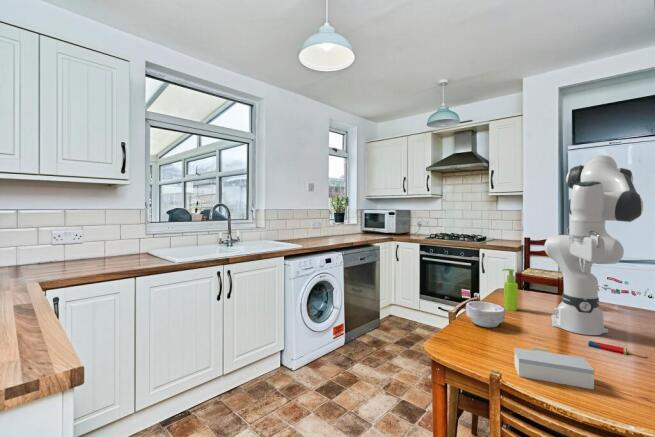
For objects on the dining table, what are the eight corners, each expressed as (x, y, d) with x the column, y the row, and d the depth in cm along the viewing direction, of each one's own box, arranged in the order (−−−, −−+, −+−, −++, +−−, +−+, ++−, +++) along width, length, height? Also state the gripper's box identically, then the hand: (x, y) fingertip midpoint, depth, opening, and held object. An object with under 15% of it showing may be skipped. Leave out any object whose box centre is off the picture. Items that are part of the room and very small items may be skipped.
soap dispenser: (502, 306, 164) (502, 267, 163) (517, 308, 159) (518, 269, 159) (500, 308, 159) (501, 269, 158) (516, 311, 155) (517, 270, 154)
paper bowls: (513, 328, 133) (513, 309, 133) (484, 332, 129) (484, 312, 128) (485, 316, 148) (485, 299, 148) (458, 319, 143) (458, 302, 143)
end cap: (514, 364, 102) (514, 347, 102) (583, 375, 95) (583, 357, 95) (518, 376, 94) (519, 358, 94) (593, 389, 87) (594, 370, 87)
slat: (532, 355, 109) (533, 346, 109) (546, 357, 107) (546, 348, 107) (545, 378, 94) (545, 368, 94) (561, 381, 92) (561, 371, 92)
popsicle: (646, 356, 105) (588, 343, 115) (646, 361, 105) (588, 347, 115) (645, 352, 108) (588, 340, 118) (645, 356, 108) (588, 344, 118)
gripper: (612, 233, 93) (611, 279, 94) (586, 229, 112) (586, 267, 113) (586, 232, 96) (585, 277, 96) (565, 228, 115) (564, 266, 115)
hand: (585, 272), depth 105 cm, fingers closed
